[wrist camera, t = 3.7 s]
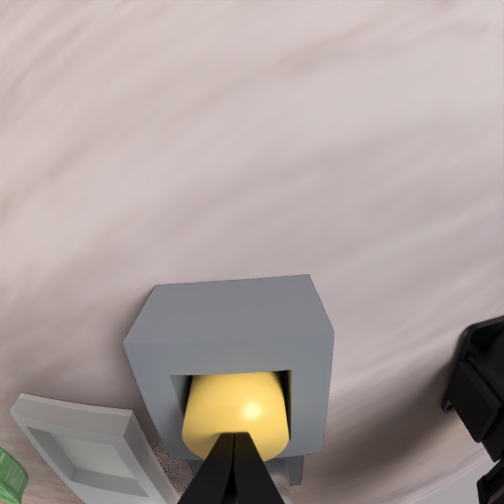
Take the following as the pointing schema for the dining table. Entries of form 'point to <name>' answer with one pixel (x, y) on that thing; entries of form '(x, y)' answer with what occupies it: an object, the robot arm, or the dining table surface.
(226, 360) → the button housing
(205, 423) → the button
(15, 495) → the ramekin
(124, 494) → the white parts tray
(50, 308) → the dining table surface
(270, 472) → the loose billet
